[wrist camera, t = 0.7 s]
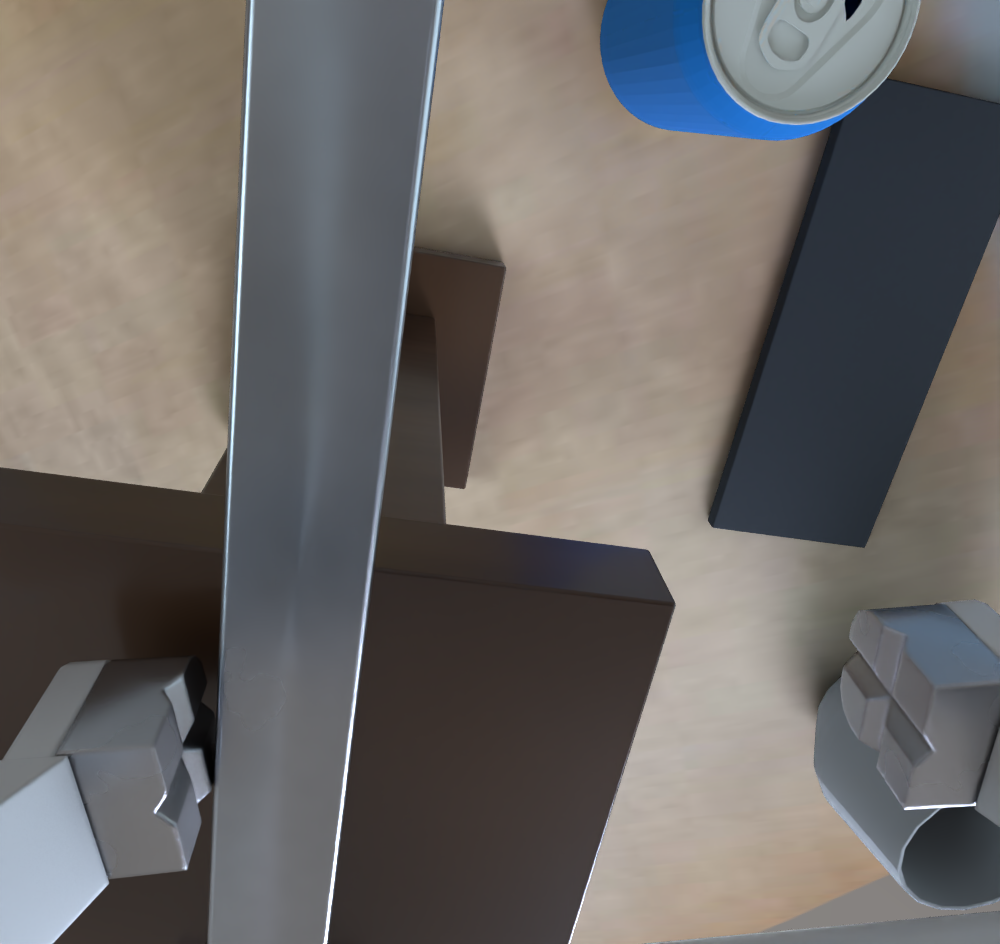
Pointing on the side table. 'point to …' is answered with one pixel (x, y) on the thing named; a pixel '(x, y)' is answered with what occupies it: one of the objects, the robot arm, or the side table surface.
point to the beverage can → (751, 61)
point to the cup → (905, 822)
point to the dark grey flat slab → (863, 314)
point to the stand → (377, 663)
